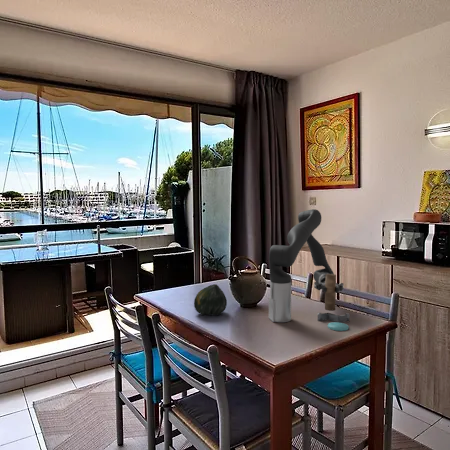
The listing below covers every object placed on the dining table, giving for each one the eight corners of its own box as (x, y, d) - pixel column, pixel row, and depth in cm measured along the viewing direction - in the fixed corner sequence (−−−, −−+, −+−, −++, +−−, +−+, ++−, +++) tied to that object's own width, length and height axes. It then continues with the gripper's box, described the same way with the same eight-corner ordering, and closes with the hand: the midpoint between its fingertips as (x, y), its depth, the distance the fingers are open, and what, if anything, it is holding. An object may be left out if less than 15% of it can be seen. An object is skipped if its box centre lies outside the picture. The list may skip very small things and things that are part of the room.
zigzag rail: (318, 322, 168) (318, 315, 168) (316, 318, 173) (316, 311, 173) (350, 322, 167) (350, 315, 167) (347, 319, 172) (347, 312, 172)
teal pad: (333, 331, 156) (333, 329, 156) (324, 324, 165) (324, 323, 165) (352, 330, 158) (352, 328, 158) (342, 323, 166) (342, 321, 166)
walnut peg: (327, 311, 174) (328, 276, 172) (323, 308, 178) (323, 273, 177) (337, 310, 174) (337, 275, 173) (332, 307, 179) (333, 273, 178)
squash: (188, 299, 186) (196, 280, 176) (215, 296, 193) (225, 278, 183) (196, 325, 177) (205, 306, 168) (225, 321, 184) (236, 303, 174)
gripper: (312, 274, 191) (315, 281, 174) (342, 274, 188) (348, 282, 172) (312, 289, 191) (314, 297, 174) (341, 290, 189) (347, 299, 172)
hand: (331, 290), depth 173 cm, fingers closed on walnut peg, 4 cm apart
